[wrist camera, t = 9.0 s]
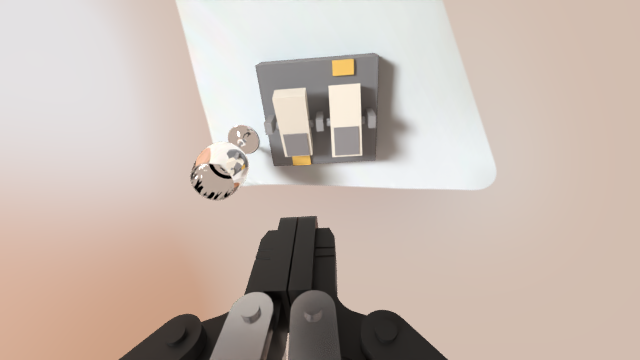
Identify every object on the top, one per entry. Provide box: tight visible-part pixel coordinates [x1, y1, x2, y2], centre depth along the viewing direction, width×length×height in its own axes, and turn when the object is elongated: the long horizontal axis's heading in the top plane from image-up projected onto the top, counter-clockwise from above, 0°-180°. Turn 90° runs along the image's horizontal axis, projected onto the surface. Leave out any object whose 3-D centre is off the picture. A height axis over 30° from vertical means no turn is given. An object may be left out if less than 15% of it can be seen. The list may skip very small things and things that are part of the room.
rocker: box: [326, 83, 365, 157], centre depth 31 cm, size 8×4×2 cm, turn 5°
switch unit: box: [256, 53, 379, 166], centre depth 34 cm, size 13×14×6 cm
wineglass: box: [190, 125, 259, 200], centre depth 33 cm, size 6×6×12 cm
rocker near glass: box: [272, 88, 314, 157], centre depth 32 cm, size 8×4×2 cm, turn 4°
